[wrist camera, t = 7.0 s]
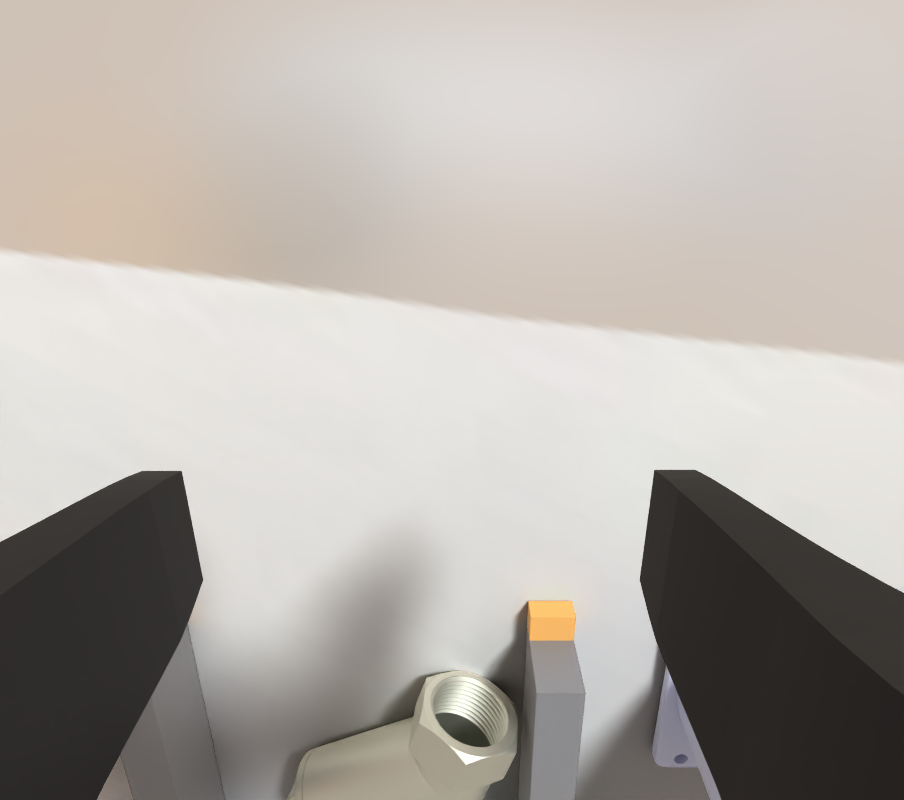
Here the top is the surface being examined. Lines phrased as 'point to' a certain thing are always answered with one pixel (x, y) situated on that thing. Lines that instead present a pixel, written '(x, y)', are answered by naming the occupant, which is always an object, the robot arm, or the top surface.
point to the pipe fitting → (421, 749)
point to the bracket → (542, 739)
